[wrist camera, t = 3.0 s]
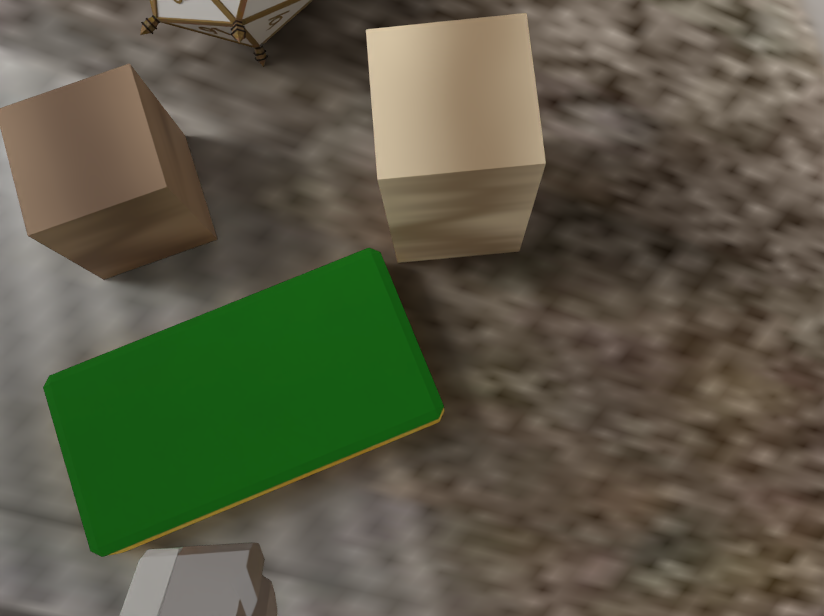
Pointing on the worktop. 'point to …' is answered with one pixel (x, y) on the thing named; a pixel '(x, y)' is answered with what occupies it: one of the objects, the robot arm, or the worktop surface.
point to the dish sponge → (240, 402)
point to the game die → (227, 19)
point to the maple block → (456, 135)
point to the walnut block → (105, 174)
